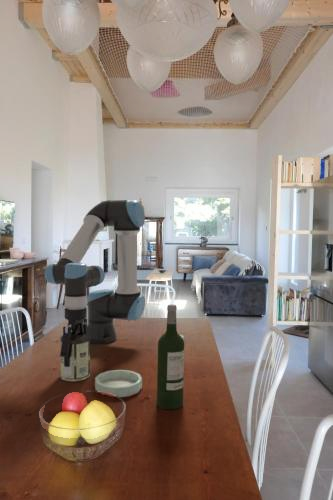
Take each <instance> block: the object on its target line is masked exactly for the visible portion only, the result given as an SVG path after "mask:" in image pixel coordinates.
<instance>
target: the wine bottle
mask: <svg viewBox="0 0 333 500" xmlns="http://www.w3.org/2000/svg"><path fill="white" fill-rule="evenodd" d="M166 307H167V309H166V310H167V313H166V316H167V317H166V331H165V333H163V334H162V335H161V336H160V337H159V339H158V341H157V342H158V343H157V372H156V373H157V376H156V379H157V383H156V384H157V385H156V387H157V388H156V403H157V405H158V407H160V408H161V409H165V410H177V409H180V408H181V407H182V406H183V403H184V382H185V381H184V380H185V379H184V377H185V376H184V375H185V374H184V373H185V372H184V371H185V370H184V369H185V368H184V367H185V340H184V337H183V338H182V337H181V336H180V335H179V333H178V330H177V305H176V304H173V303H172V304H171V303H170V304H168V305H167V306H166Z"/></svg>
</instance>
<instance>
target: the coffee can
mask: <svg viewBox="0 0 333 500" xmlns="http://www.w3.org/2000/svg"><path fill="white" fill-rule="evenodd" d="M62 339H63V335H61V336H60V339H59V340H60V347H61V346H62ZM70 344H72V354H71V356H72V376H67V375H64V357H61V356H60V378H61V380H63V381H65V382H80V381H84V380H86V379H89V378H90V376H91V354H90V353H91V343H90V335H88V334H85V333H84V335H77V337H76V338H75V340H74V341H70Z"/></svg>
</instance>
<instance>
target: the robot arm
mask: <svg viewBox="0 0 333 500" xmlns="http://www.w3.org/2000/svg"><path fill="white" fill-rule="evenodd" d="M82 221H83V223H82V225H81V227H80V228H79V229H78V231H77V232H76V234H75V235H74V237H73V239H72V240H71V241H70V243H69V244H68V246H67V247H66V249H65V251H64V252H63V254H62V255H61V256H60V258H59V259H58V261H57V262H56V263H52V264H48V265H47V266H46V267H45V270H44V278H45V281H46V282H47V283H49V284H51V285H52V284H54V285H64V298H63V300H64V307H65V308H64V319H65V320H67V321H68V322H67V326H63V327H62V336H63V339H62V346H61V345H60V352H59V356H60V358H61V357H64V375H67V376H72V356H71V354H72V344H70V341H74V340H75V338H76V337H77V335H84V333H85V334H88V335H90V344H99V345H100V344H109V343H113V342H115V341H116V340H117V337H118V333H117V331H116V328H115V324H114V320H115V319H116V320H123V321H124V320H125V321H132V322H133V321H138V320H140V319H141V318H142V316H143V314H144V311H145V307H146V299H145V296H144V295H143V294H141V289H140V288H139V287H138V261H137V260H138V245H137V244H138V243H137V241H138V239H137V238H138V236H137V235H138V233H140V232H141V227H143V226H144V225H145V221H146V215H145V210H144V207H143V205H142V203H141V202H139V201H138V200H132V199H127V200H126V199H123V200H122V199H120V200H119V199H117V200H116V199H114V200H110V199H108V200H107V199H106V200H103V201H102V202H100V203H97V204H96V205H94V206H93V207H92V208H91V209H90V210H89V211H88V212H87V213H86V215H85V216H84V218H83V219H82ZM107 227H113V231H114V233H115V234H116V235H117V236H116V237H117V287H116V288H115V290H114V289H112V288H105V289H97V290H92V291H91V292H89V293H88V288H92V287H96V286H99V285H101V284H102V283H103V282H104V281H105V276H106V275H105V271H104V269H103V268H102V267H101V266H99V265H91V266H90V265H87V264H86V263H84V262H82V260H83V259H84V257H85V255H86V254H87V252H88V250H89V249H90V247H91V245H92V244H93V243H94V241H95V239H96V237H97V236H98V234H99V233H101V232H103V230H104V229H105V228H107ZM87 293H88V295H87ZM87 296H88V298H87Z"/></svg>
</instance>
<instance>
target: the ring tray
mask: <svg viewBox="0 0 333 500" xmlns="http://www.w3.org/2000/svg"><path fill="white" fill-rule="evenodd" d="M94 388H95V391H96V390H97V391H104V392H108V393H112V394H114V395H117V396H119V397H118V398H124V397H125V398H126V397H131V396H133V395H136V394H138V393H140V391H141V390H142V389H143V378H142V375H141V374H140V373H138V372H136V371H133V370H129V369H128V370H127V369H115V370H114V369H113V370H107V371H104V372H101V373H99V374H98V375H96V377H94ZM140 389H141V390H140Z"/></svg>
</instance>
